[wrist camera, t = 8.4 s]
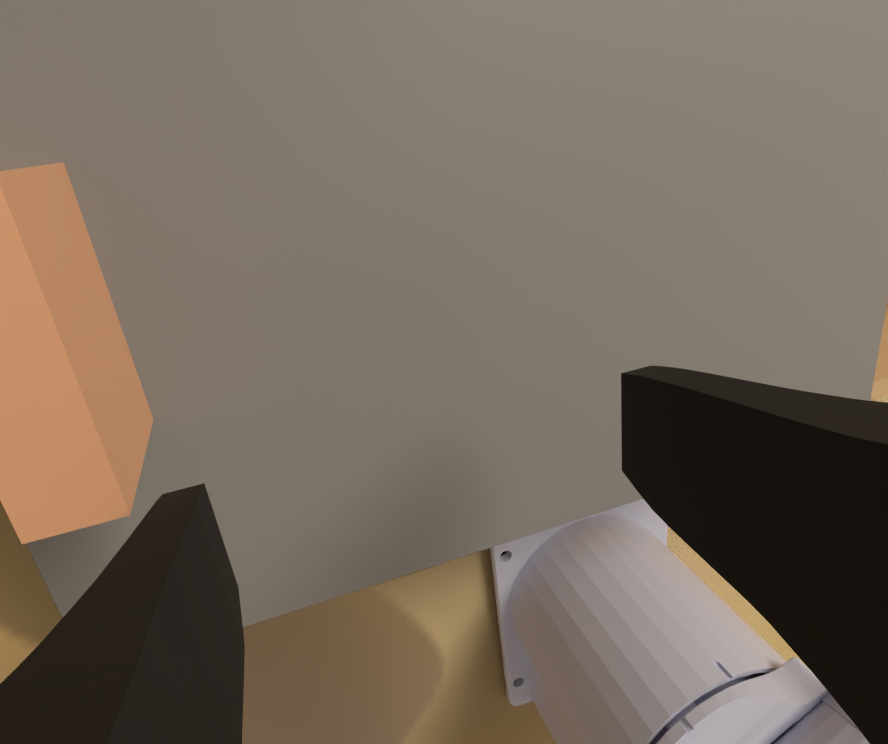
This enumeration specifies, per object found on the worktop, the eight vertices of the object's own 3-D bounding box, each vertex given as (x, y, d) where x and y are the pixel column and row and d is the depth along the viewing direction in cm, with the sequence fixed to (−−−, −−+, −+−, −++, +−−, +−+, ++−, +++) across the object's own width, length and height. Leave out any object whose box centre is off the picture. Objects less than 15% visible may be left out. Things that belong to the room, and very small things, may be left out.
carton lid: (849, 419, 20) (985, 483, 17) (95, 656, 15) (52, 829, 11) (955, -254, 14) (1223, -394, 10) (-345, -271, 8) (-804, -589, 4)
